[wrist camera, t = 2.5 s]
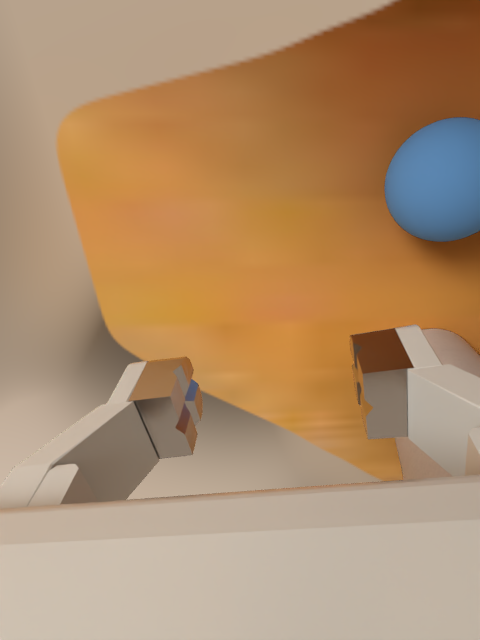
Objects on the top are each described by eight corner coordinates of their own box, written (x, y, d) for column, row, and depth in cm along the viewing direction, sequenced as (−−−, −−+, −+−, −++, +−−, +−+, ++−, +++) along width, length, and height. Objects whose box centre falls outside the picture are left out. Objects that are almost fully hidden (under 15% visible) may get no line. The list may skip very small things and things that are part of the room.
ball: (371, 127, 22) (400, 139, 17) (487, 102, 21) (555, 106, 16) (376, 231, 25) (402, 267, 20) (479, 213, 24) (534, 246, 19)
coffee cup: (349, 408, 32) (397, 620, 19) (373, 304, 28) (458, 492, 15) (469, 418, 32) (602, 642, 19) (515, 314, 27) (733, 518, 14)
